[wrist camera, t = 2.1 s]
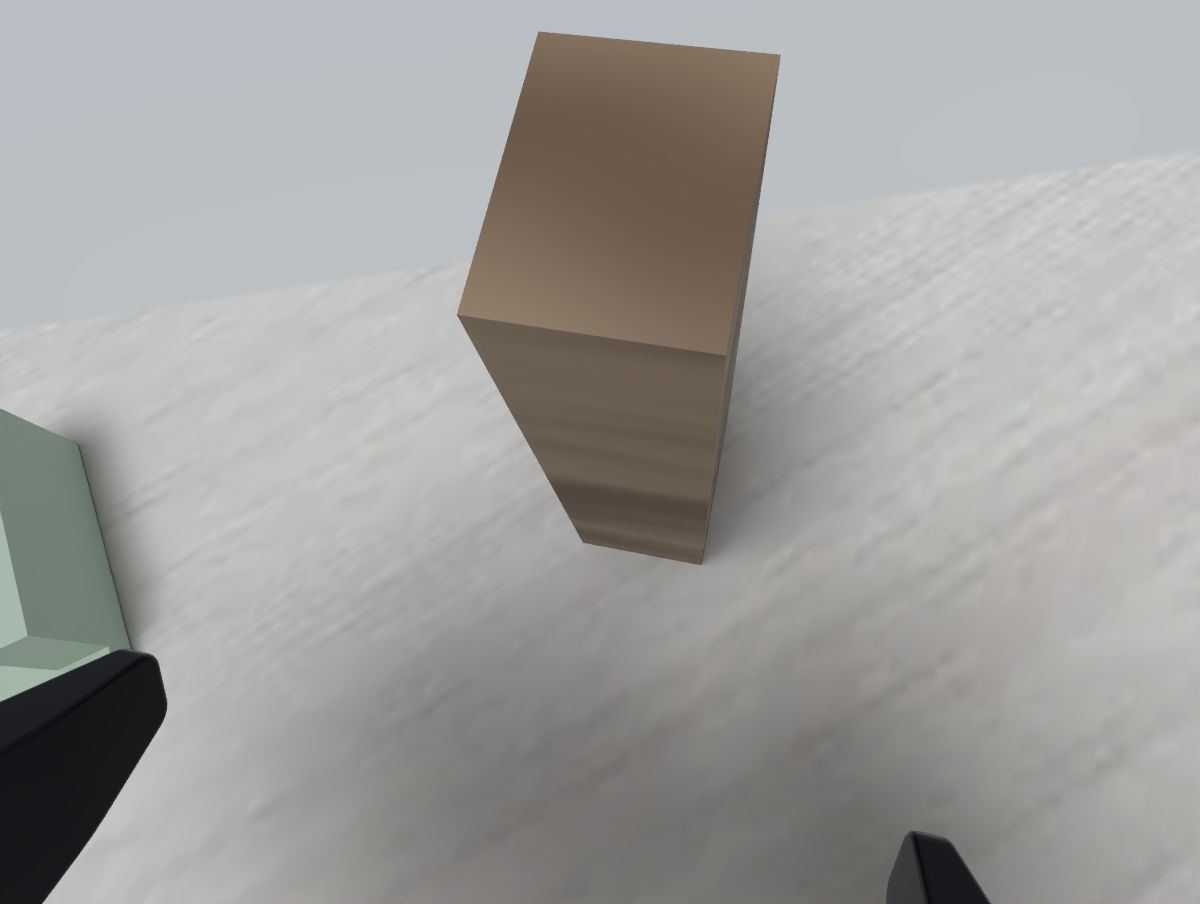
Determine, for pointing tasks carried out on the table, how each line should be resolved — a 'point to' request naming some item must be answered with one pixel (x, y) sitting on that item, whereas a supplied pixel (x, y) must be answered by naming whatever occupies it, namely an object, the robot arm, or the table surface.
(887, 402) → the table surface
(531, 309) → the walnut block
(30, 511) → the slotted rack
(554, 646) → the table surface
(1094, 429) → the table surface
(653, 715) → the table surface
